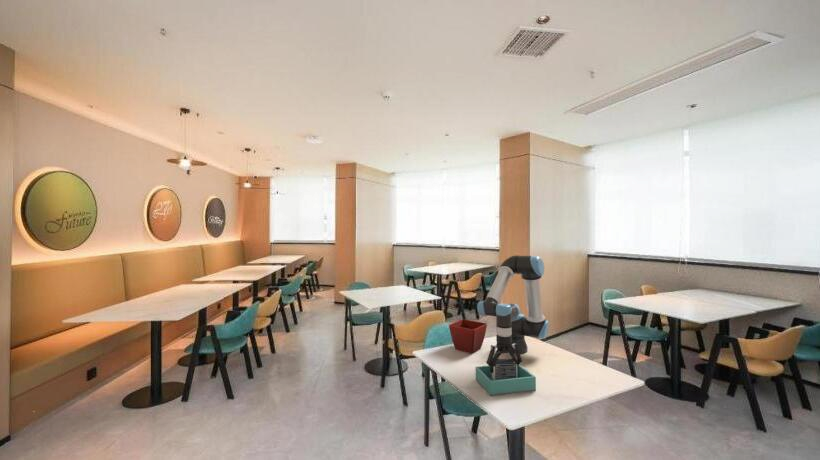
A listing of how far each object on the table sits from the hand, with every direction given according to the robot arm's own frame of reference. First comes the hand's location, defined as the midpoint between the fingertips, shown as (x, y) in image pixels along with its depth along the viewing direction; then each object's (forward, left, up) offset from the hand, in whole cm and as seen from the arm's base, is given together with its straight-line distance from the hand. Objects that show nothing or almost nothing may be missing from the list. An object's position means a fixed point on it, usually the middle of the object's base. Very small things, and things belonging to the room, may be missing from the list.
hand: (504, 377), depth 169 cm
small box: (0, 0, -2) cm, 2 cm away
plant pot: (-1, -53, -4) cm, 53 cm away
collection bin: (0, 0, -4) cm, 4 cm away
